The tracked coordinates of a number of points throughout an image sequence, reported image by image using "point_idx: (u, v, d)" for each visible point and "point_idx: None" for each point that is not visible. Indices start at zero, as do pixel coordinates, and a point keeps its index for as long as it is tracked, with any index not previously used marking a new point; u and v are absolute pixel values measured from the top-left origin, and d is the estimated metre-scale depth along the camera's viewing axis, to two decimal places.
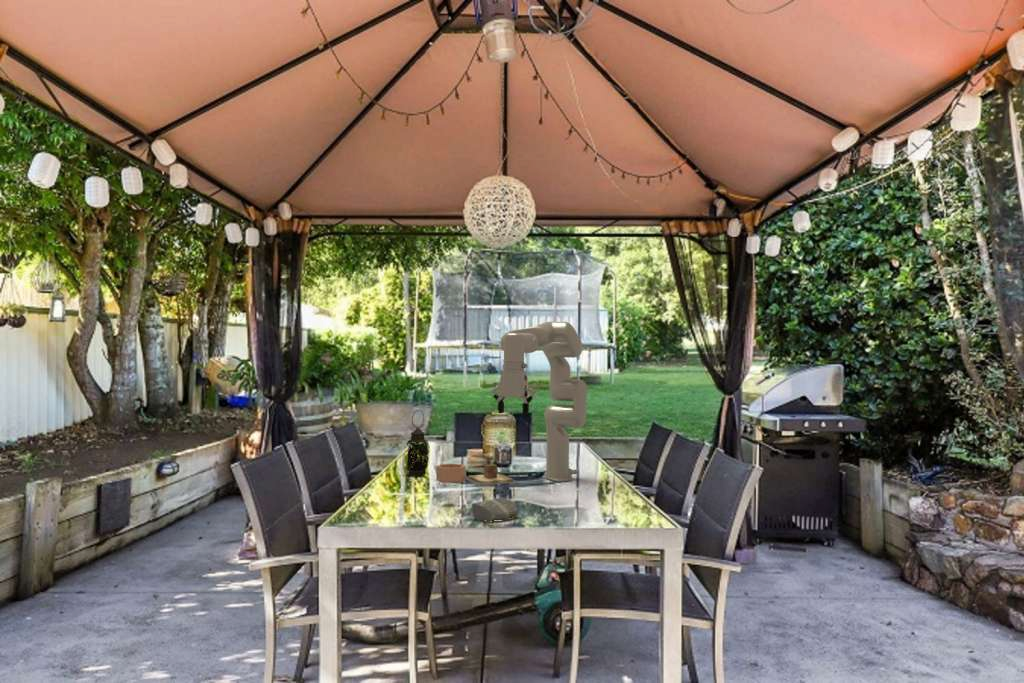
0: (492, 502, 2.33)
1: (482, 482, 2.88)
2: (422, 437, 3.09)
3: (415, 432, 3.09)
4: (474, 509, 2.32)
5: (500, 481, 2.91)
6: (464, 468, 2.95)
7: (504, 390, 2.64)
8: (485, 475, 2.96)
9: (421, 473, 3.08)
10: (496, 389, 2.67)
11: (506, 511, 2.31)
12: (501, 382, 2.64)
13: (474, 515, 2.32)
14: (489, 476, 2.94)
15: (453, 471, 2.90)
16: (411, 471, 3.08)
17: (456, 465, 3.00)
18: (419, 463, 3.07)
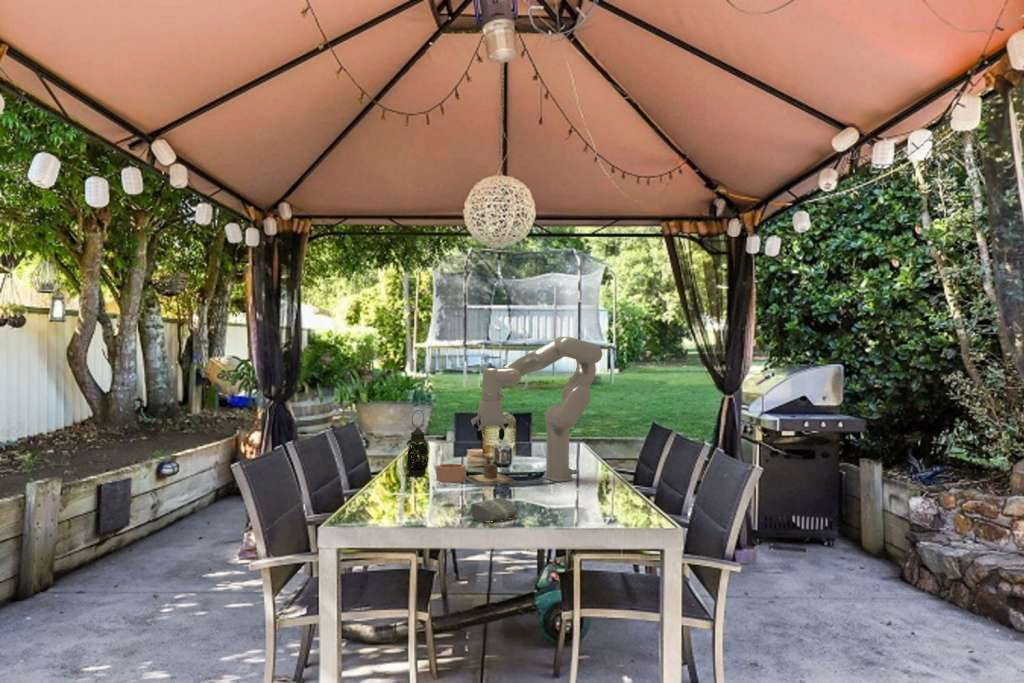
0: (491, 502, 2.33)
1: (482, 482, 2.88)
2: (422, 437, 3.09)
3: (415, 432, 3.09)
4: (473, 509, 2.31)
5: (500, 481, 2.91)
6: (464, 468, 2.95)
7: (487, 419, 2.94)
8: (485, 475, 2.96)
9: (421, 473, 3.08)
10: (476, 419, 2.93)
11: (505, 511, 2.30)
12: (484, 412, 2.93)
13: (473, 515, 2.31)
14: (489, 476, 2.94)
15: (453, 471, 2.90)
16: (411, 471, 3.08)
17: (456, 465, 3.00)
18: (419, 463, 3.07)
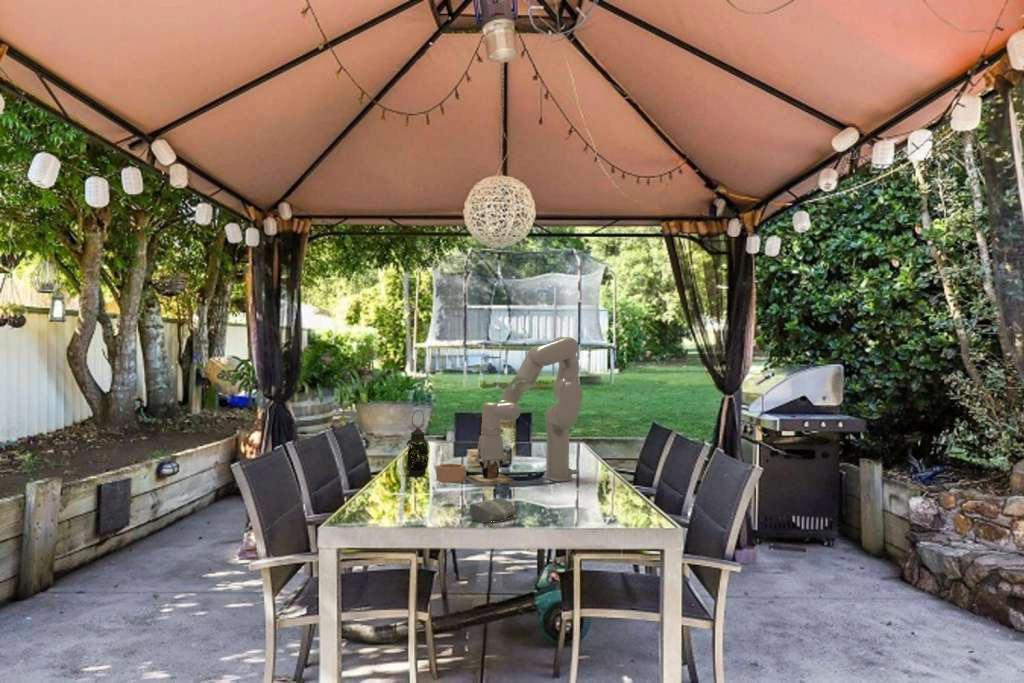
0: (490, 503, 2.32)
1: (482, 482, 2.88)
2: (422, 437, 3.09)
3: (415, 432, 3.09)
4: (472, 510, 2.31)
5: (500, 481, 2.91)
6: (464, 468, 2.95)
7: (487, 454, 2.94)
8: None
9: (421, 473, 3.08)
10: (479, 457, 2.94)
11: (504, 512, 2.30)
12: (484, 447, 2.93)
13: (472, 516, 2.31)
14: (489, 476, 2.94)
15: (453, 471, 2.90)
16: (411, 471, 3.08)
17: (456, 465, 3.00)
18: (419, 463, 3.07)
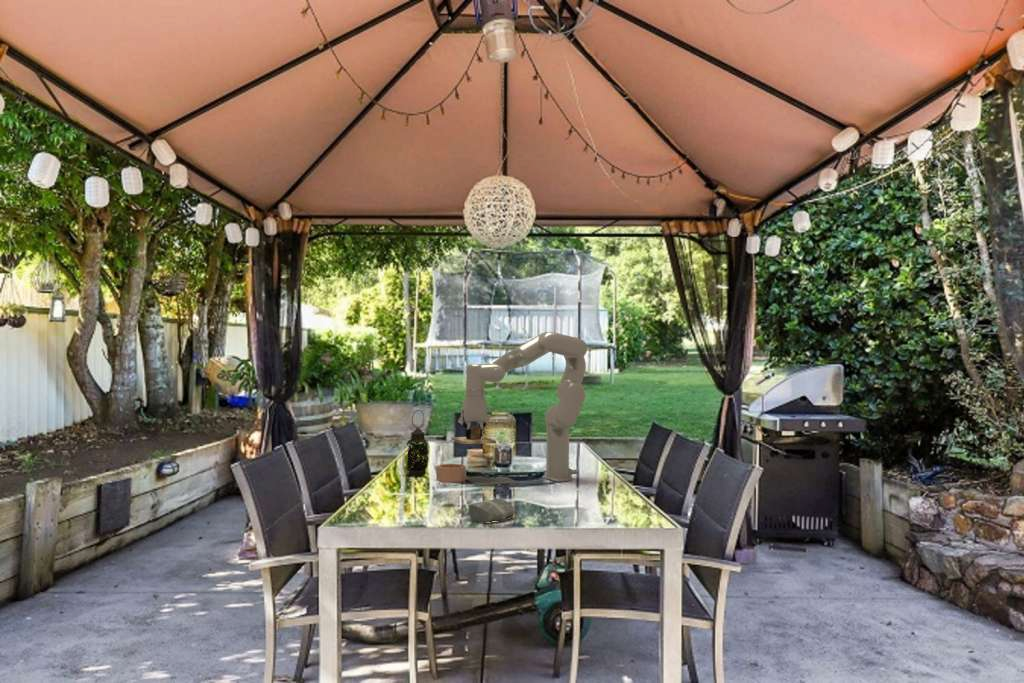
0: (489, 503, 2.32)
1: (465, 442, 2.87)
2: (422, 437, 3.09)
3: (415, 432, 3.09)
4: (471, 510, 2.30)
5: (483, 442, 2.90)
6: (464, 468, 2.95)
7: (470, 415, 2.93)
8: None
9: (421, 473, 3.08)
10: (462, 418, 2.93)
11: (503, 512, 2.30)
12: (467, 408, 2.93)
13: (471, 516, 2.30)
14: (472, 437, 2.94)
15: (453, 471, 2.90)
16: (411, 471, 3.08)
17: (456, 465, 3.00)
18: (419, 463, 3.07)
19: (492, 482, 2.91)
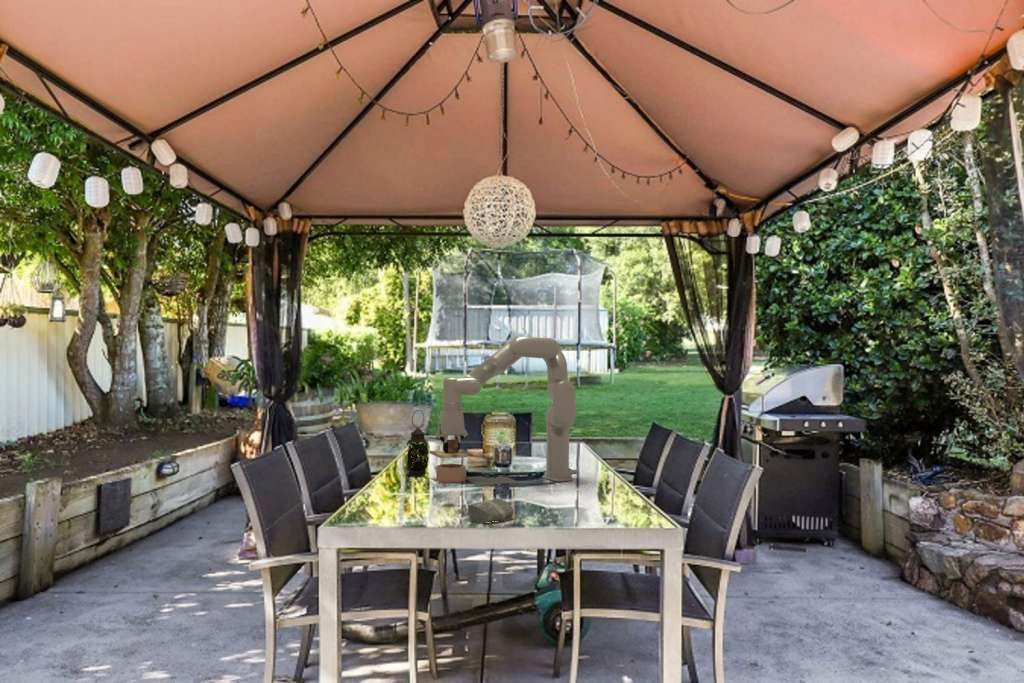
0: (488, 503, 2.32)
1: (442, 456, 2.87)
2: (422, 437, 3.09)
3: (415, 432, 3.09)
4: (470, 510, 2.30)
5: (460, 456, 2.90)
6: (464, 468, 2.95)
7: (447, 429, 2.93)
8: None
9: (421, 473, 3.08)
10: (439, 432, 2.93)
11: (503, 512, 2.29)
12: (444, 422, 2.92)
13: (470, 516, 2.30)
14: (449, 451, 2.93)
15: (453, 471, 2.90)
16: (411, 471, 3.08)
17: (456, 465, 3.00)
18: (419, 463, 3.07)
19: (492, 482, 2.91)
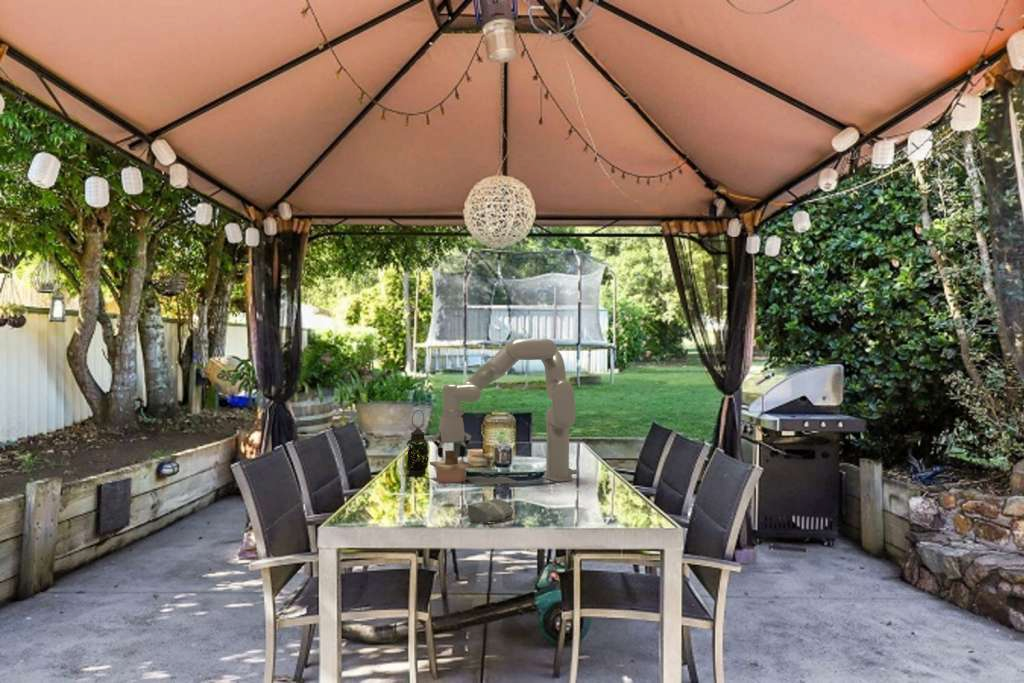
0: (488, 503, 2.31)
1: (442, 468, 2.87)
2: (422, 437, 3.09)
3: (415, 432, 3.09)
4: (470, 511, 2.30)
5: (460, 467, 2.90)
6: (464, 468, 2.95)
7: (447, 436, 2.93)
8: (446, 461, 2.95)
9: (421, 473, 3.08)
10: (436, 436, 2.93)
11: (502, 512, 2.29)
12: (444, 429, 2.92)
13: (470, 517, 2.30)
14: (450, 462, 2.93)
15: (453, 471, 2.90)
16: (411, 471, 3.08)
17: None
18: (419, 463, 3.07)
19: (492, 482, 2.91)
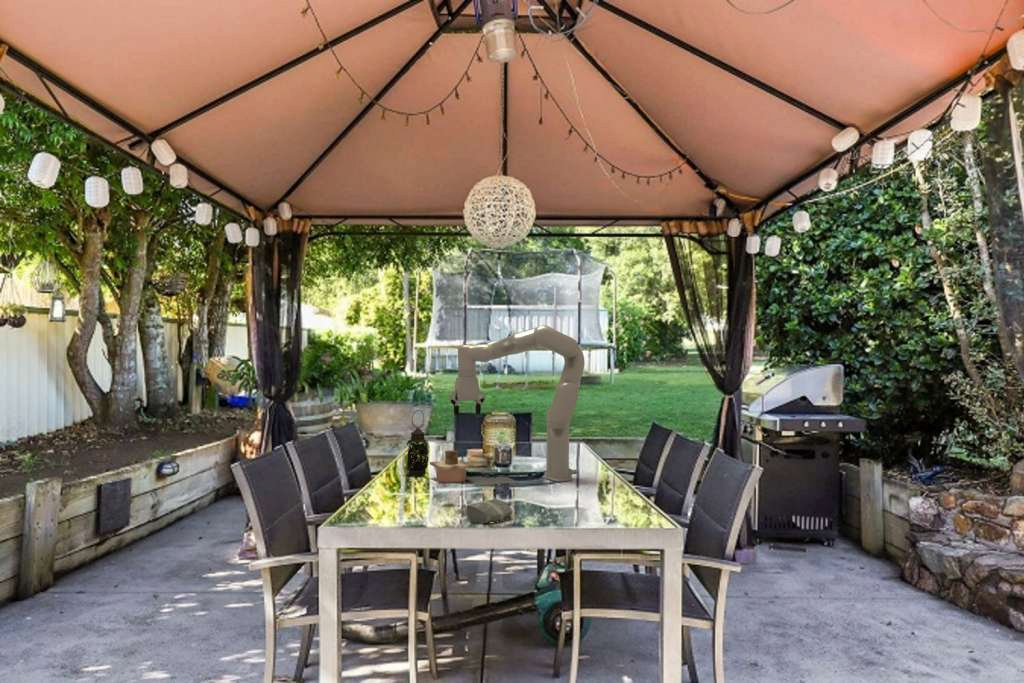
0: (486, 504, 2.31)
1: (442, 468, 2.87)
2: (422, 437, 3.09)
3: (415, 432, 3.09)
4: (468, 511, 2.29)
5: (460, 467, 2.90)
6: (464, 468, 2.95)
7: (463, 395, 3.03)
8: (446, 461, 2.95)
9: (421, 473, 3.08)
10: (453, 394, 3.02)
11: (501, 512, 2.29)
12: (460, 388, 3.02)
13: (468, 517, 2.29)
14: (450, 462, 2.93)
15: (453, 471, 2.90)
16: (411, 471, 3.08)
17: None
18: (419, 463, 3.07)
19: (492, 482, 2.91)
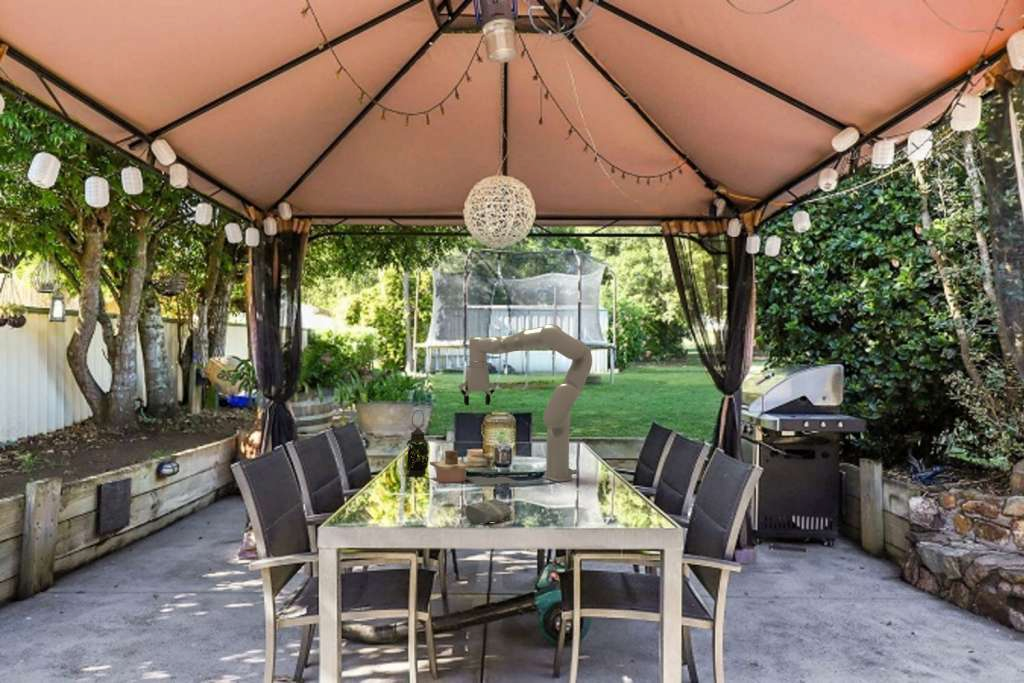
0: (486, 504, 2.30)
1: (442, 468, 2.87)
2: (422, 437, 3.09)
3: (415, 432, 3.09)
4: (468, 511, 2.28)
5: (460, 467, 2.90)
6: (464, 468, 2.95)
7: (473, 385, 3.11)
8: (446, 461, 2.95)
9: (421, 473, 3.08)
10: (463, 385, 3.10)
11: (500, 513, 2.28)
12: (471, 379, 3.10)
13: (468, 517, 2.29)
14: (450, 462, 2.93)
15: (453, 471, 2.90)
16: (411, 471, 3.08)
17: None
18: (419, 463, 3.07)
19: (492, 482, 2.91)
